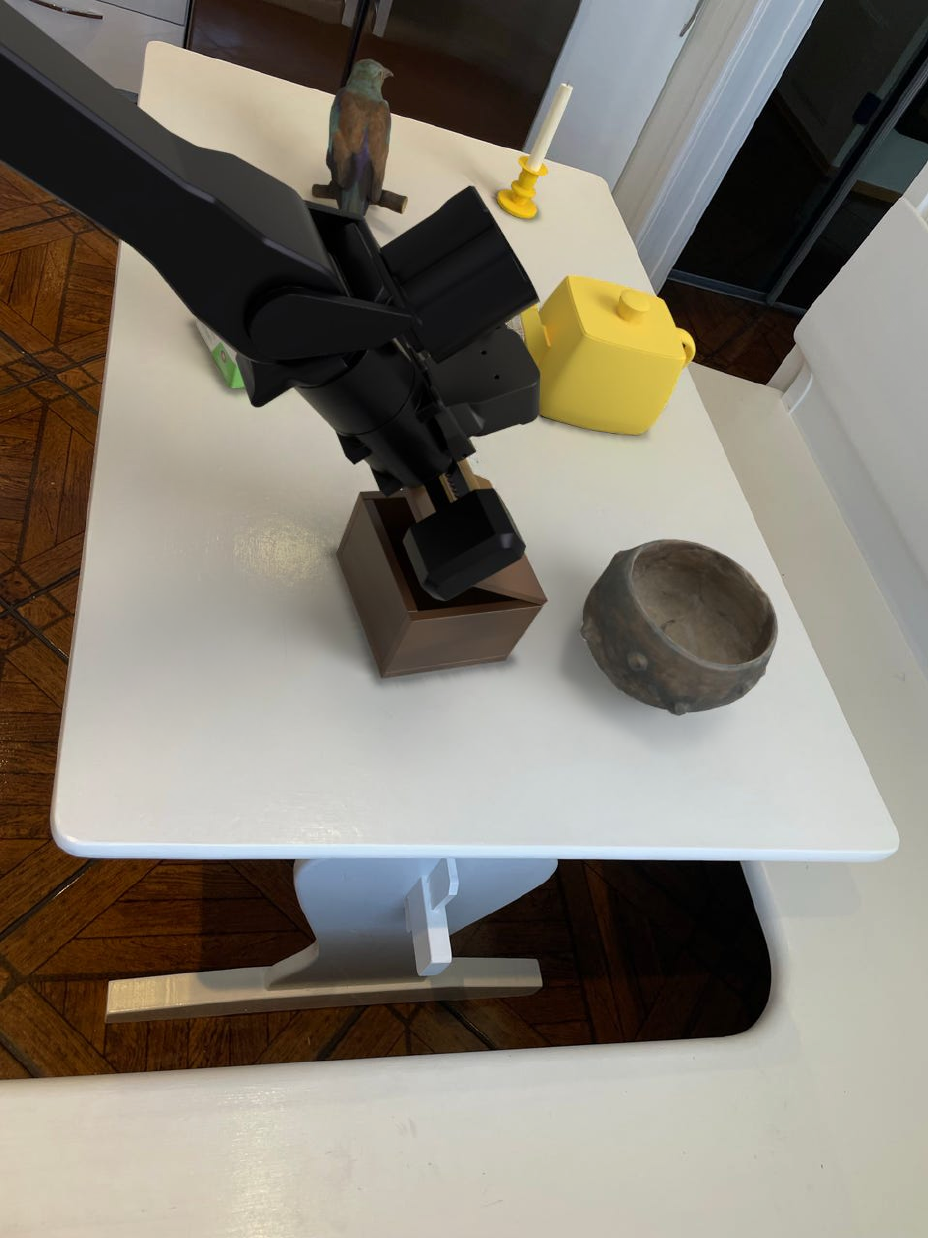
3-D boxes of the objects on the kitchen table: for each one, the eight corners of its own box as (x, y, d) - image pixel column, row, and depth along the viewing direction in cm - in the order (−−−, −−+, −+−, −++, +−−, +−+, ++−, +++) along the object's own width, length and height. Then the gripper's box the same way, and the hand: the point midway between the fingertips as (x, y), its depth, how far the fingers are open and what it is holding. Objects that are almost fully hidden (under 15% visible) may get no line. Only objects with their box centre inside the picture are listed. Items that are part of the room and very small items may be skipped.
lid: (439, 577, 58) (488, 535, 56) (382, 443, 64) (424, 400, 62) (542, 605, 67) (588, 569, 65) (484, 484, 72) (524, 448, 70)
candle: (491, 189, 116) (542, 62, 104) (527, 196, 118) (581, 72, 106) (504, 215, 113) (557, 87, 101) (540, 221, 115) (597, 97, 104)
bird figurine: (399, 278, 96) (447, 64, 89) (304, 252, 93) (346, 29, 86) (383, 271, 108) (424, 82, 101) (298, 248, 105) (335, 52, 98)
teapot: (494, 414, 90) (544, 314, 81) (477, 332, 97) (521, 232, 88) (670, 448, 97) (734, 360, 88) (643, 369, 104) (699, 280, 95)
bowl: (748, 724, 77) (824, 659, 70) (602, 761, 70) (670, 693, 62) (669, 590, 84) (731, 518, 76) (527, 611, 76) (581, 533, 69)
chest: (381, 679, 67) (411, 622, 62) (335, 553, 73) (359, 490, 67) (505, 660, 72) (543, 606, 67) (453, 544, 78) (485, 485, 72)
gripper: (566, 436, 45) (635, 560, 58) (435, 200, 53) (522, 356, 67) (372, 550, 47) (482, 644, 60) (276, 305, 55) (391, 436, 69)
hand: (472, 511), depth 64 cm, fingers open, 9 cm apart
